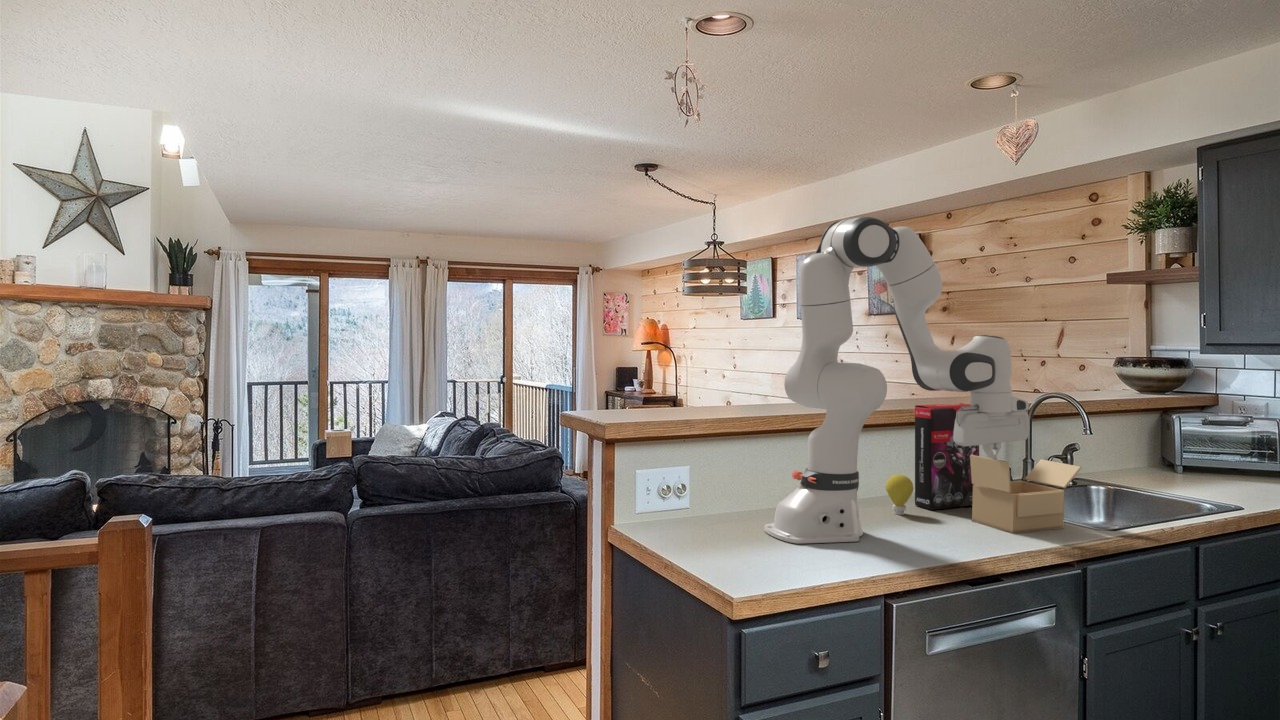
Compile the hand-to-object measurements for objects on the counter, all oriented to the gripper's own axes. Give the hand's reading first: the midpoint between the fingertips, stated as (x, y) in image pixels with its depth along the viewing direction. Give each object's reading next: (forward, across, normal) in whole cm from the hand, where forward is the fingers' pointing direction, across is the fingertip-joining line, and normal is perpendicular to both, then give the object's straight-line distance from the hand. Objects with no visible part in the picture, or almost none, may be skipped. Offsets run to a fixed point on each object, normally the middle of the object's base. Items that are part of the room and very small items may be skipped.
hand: (991, 461), depth 172 cm
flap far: (+7, +17, 0) cm, 18 cm away
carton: (+16, +8, 0) cm, 18 cm away
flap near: (+6, 0, 0) cm, 6 cm away
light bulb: (+15, -12, +18) cm, 27 cm away
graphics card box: (+16, +6, +21) cm, 27 cm away
